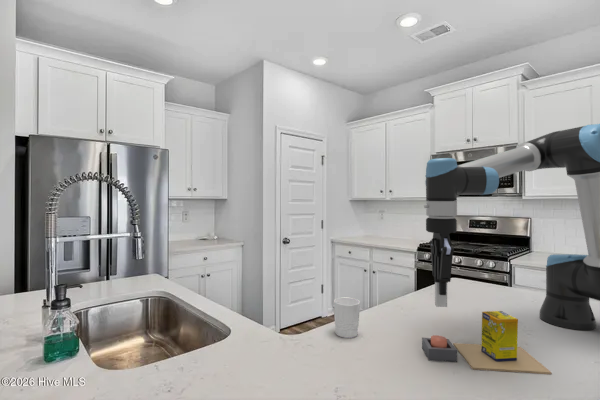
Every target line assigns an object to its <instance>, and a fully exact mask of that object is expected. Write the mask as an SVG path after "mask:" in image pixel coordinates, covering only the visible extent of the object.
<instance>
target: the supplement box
mask: <svg viewBox="0 0 600 400" xmlns="http://www.w3.org/2000/svg"><path fill="white" fill-rule="evenodd" d="M481 313H482V314H481V315H482V316H481V344H480V345H481V351H482V352H483V353H485V354H487V355H488V356H489V357H491V358H492V359H493V360H495V361H496V362H502V361H516V360H517V347H518V333H519V332H518V328H519V318H517V317H514V316H513V315H510V314H508V313H507V312H504V311H502V310H492V311H491V310H490V311H489V310H488V311H481Z"/></svg>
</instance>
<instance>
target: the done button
mask: <svg viewBox="0 0 600 400" xmlns="http://www.w3.org/2000/svg"><path fill="white" fill-rule="evenodd" d="M430 338H431V347H436V348H447V339H448V338H447V337H445V336H443V335H437V334H435V335H434V334H433V335H431V336H430Z"/></svg>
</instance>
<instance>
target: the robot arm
mask: <svg viewBox="0 0 600 400" xmlns="http://www.w3.org/2000/svg"><path fill="white" fill-rule="evenodd" d="M457 162H458V161H457V160H456V159H455V158H454V157H453V158H451V157H443V158H442V157H441V158H439V157H438V158H432V159H429V160H428V161H427V162H426V168H425V181H424V182H425V183H424V184H425V198H426V199H425V201H426V202H425V204H424V205H423V207H424V209H425V210H426V211H425V212H426V214H425V215H426V216H427V218H426V219H425V230H426V232H427V233H432V238H431V240H430V241H429V245H430V247H429V248H430V257H431V270H432V271H431V272H432V274H431V275H432V276H433V279H434V280H433V282H434V305H435V307H436V308H439V307H441V308H448V283H450V282H451V281H452V279H451V278H452V266H453V257H454V253H455V247H454V246H452V241H451V238H450V234H455V233H456V232H457V229H458V226H457V225H458V223H457V222H458V221H457V218H456V217H457V216H458V199H457V198H458V197H457V196H459V195H461V196H463V195H464V196H465V195H468V196H469V195H474V196H475V195H477V196H478V195H479V196H485V195H491V194H493V193H495V192H496V191H497V190H498V188H499V184H500V178H502V177H503V178H504V177H506V176H510V175H513V174H516V173H519V172H523V171H525V172H532V171H537V170H543V169H545V170H546V169H561V168H562V169H564V168H565V170H566V175H567V176H568V177H570V178H571V179H573V180H574V184H575V188H576V189H575V190H576V194H577V200H578V204H579V211H580V216H581V223H582V228H583V233H584V239H585V243H586V250H587V254H577V253H575V254H573V253H571V254H569V253H566V254H565V253H564V254H561V253H558V254H557V253H556V254H550V255H549V256H548V257H547V259H546V265H545V267H546V269H545V270H546V272H545V274H546V275H545V281H546V282H545V288H546V289H545V297H544V300H543V303H542V305H541V307H540V309H539V319H540V320H542V321H543V322H545V323H547V324H550V325H554V326H557V327H561V328H565V329H570V330H579V331H591V330H595V329H596V328H597V327H596V326H597V323H596V322H597V321H596V318H595V315H594V312H593V309H592V307H591V304H590V299H592V300H596V301H598V302H599V301H600V123H594V124H587V125H583V126H578V127H572V128H567V129H563V130H562V129H561V130H558V131H552V132H549V133H546V134H544V135H541V136H538V137H536V138H533V139H531V140H528V141H525V142H521V143H520V144H517V146H516V147H515V148H511V149H509V150H506V151H502V152H499V153H496V154H491V155H489V156H486V157H482V158H478V159H475V160H471V161H468V162H465V163H462V164H458V163H457Z"/></svg>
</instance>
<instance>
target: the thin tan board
mask: <svg viewBox="0 0 600 400" xmlns="http://www.w3.org/2000/svg"><path fill="white" fill-rule="evenodd" d="M452 344H453V346H454V347H455V348H456V349H457V353H458V354H460V355H461V357H462V358H463V359H464V361H465V362H466V363H467V364H468V365H469V367H470V368H471V369H472V370H475V371H487V372H489V371H491V372H492V371H493V372H507V373H523V374H538V375H539V374H540V375H552V371H551V370H549V368H547V367H546V366H544V365H543V364H542V363H541V362H539V360H537V359H536V358H535V357H533V355H531V354H530V353H529V352H528V351H526V350H525V349H523V348H522V347H521V346H517V360H516V361H502V362H496V361H495V360H493V359H492V358H491V357H489V356H488V355H487V354H485V353H483V352H482V351H481V344H479V343H478V344H475V343H462V342H461V343H460V342H459V343H458V342H453V343H452Z"/></svg>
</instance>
